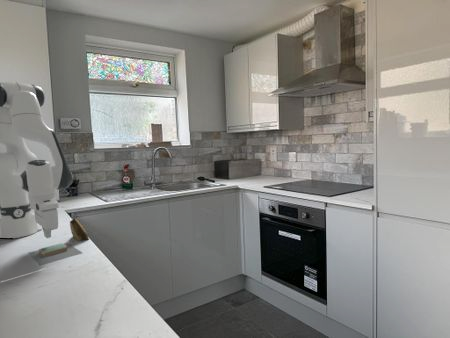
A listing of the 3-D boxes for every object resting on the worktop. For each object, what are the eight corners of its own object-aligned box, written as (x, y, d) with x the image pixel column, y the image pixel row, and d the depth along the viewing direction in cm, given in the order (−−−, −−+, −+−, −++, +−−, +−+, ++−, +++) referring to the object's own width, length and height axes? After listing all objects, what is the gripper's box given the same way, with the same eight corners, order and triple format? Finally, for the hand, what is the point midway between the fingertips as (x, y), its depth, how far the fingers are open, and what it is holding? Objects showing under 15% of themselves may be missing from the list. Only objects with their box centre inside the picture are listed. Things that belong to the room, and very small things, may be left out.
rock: (66, 232, 140) (60, 235, 130) (77, 215, 141) (72, 217, 132) (88, 244, 142) (84, 248, 132) (99, 227, 143) (95, 230, 134)
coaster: (38, 248, 121) (43, 253, 116) (61, 243, 126) (66, 246, 121) (39, 252, 121) (44, 256, 116) (62, 246, 126) (67, 250, 121)
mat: (28, 253, 122) (28, 252, 122) (67, 243, 131) (67, 242, 131) (40, 266, 108) (40, 265, 108) (82, 254, 117) (82, 252, 117)
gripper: (28, 200, 128) (32, 234, 130) (40, 207, 113) (45, 245, 114) (45, 197, 132) (49, 230, 134) (59, 203, 117) (64, 240, 119)
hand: (47, 237), depth 124 cm, fingers closed
